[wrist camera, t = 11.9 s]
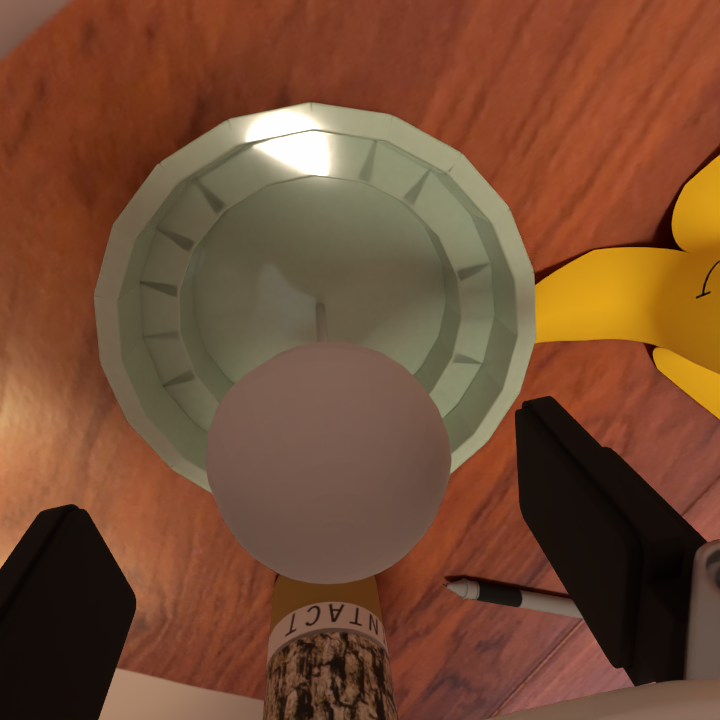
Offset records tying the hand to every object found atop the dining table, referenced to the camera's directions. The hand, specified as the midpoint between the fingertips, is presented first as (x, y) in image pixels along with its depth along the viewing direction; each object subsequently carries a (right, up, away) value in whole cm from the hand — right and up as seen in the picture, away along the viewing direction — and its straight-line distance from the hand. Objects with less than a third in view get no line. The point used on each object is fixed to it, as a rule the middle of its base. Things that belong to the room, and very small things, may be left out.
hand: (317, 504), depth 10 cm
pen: (+14, -14, +24) cm, 31 cm away
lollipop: (-1, +6, +13) cm, 14 cm away
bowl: (-1, +6, +13) cm, 15 cm away
